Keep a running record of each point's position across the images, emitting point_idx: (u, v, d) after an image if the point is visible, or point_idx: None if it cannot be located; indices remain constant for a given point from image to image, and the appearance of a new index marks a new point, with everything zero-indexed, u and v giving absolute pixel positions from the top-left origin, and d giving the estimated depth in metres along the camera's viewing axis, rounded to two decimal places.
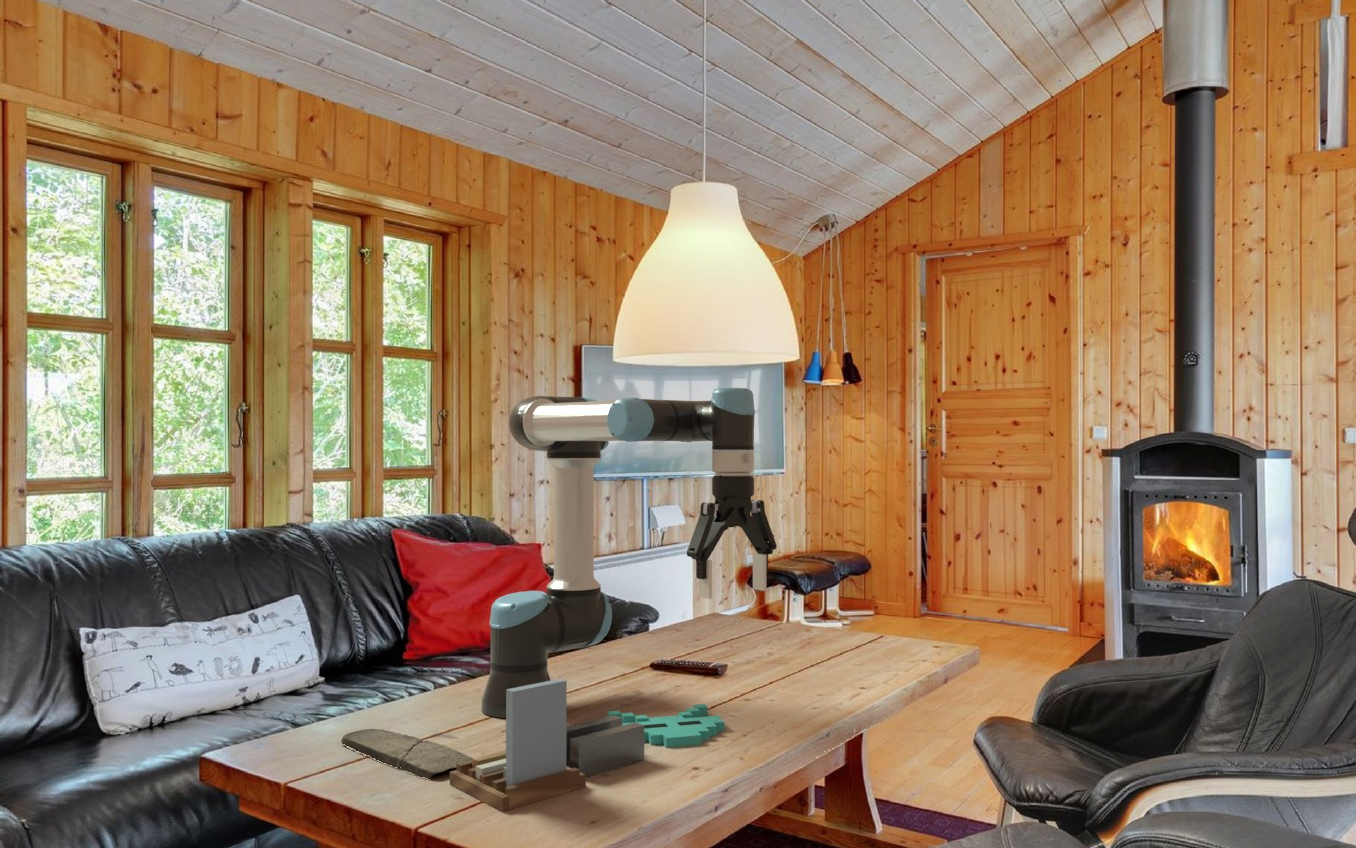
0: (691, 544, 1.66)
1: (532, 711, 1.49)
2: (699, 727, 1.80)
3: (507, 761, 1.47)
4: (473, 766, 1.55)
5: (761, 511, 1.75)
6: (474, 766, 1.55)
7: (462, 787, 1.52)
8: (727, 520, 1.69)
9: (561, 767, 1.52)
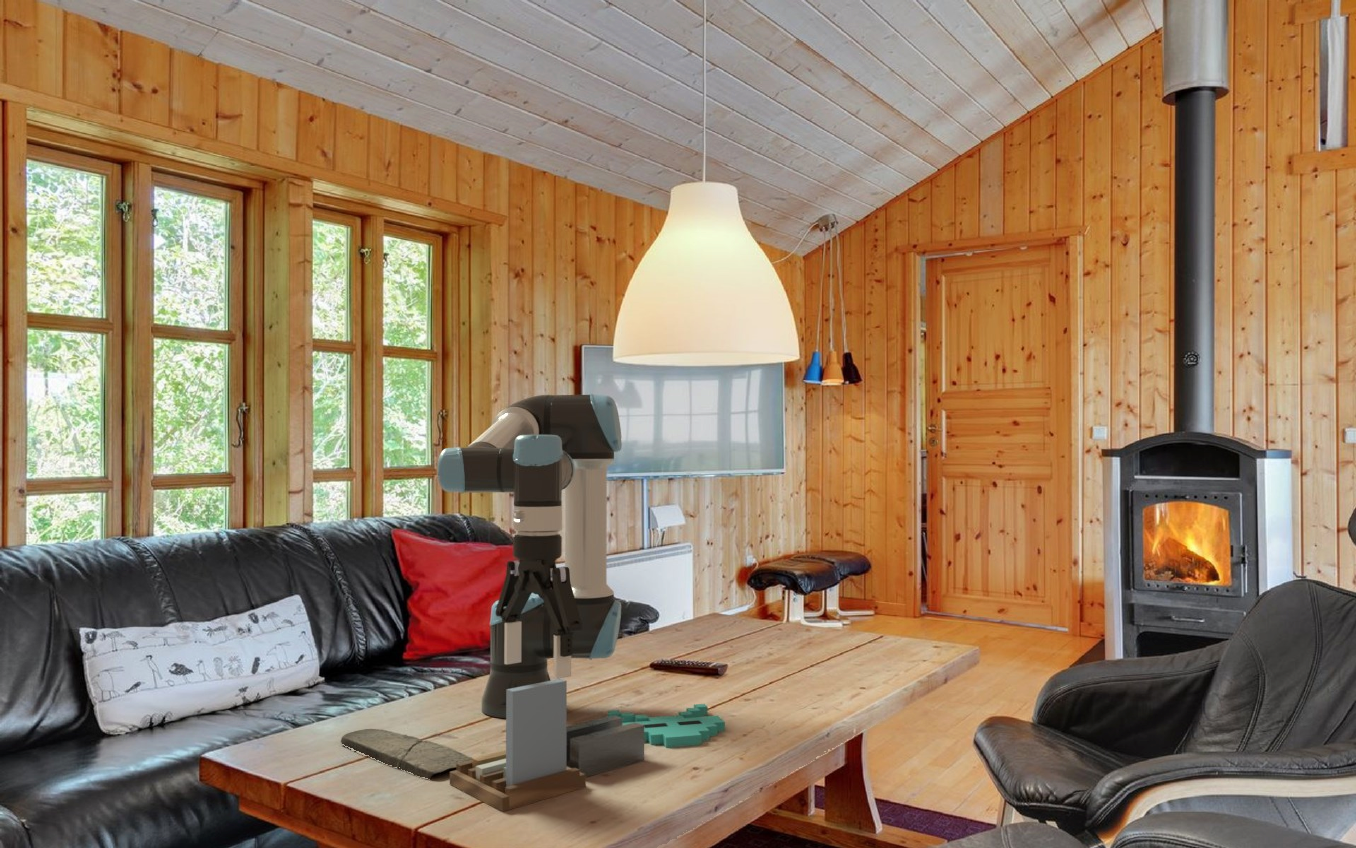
0: None
1: (532, 711, 1.49)
2: (699, 727, 1.80)
3: (507, 761, 1.47)
4: (473, 766, 1.55)
5: (553, 581, 1.45)
6: (474, 766, 1.55)
7: (462, 787, 1.52)
8: (517, 583, 1.52)
9: (561, 767, 1.52)
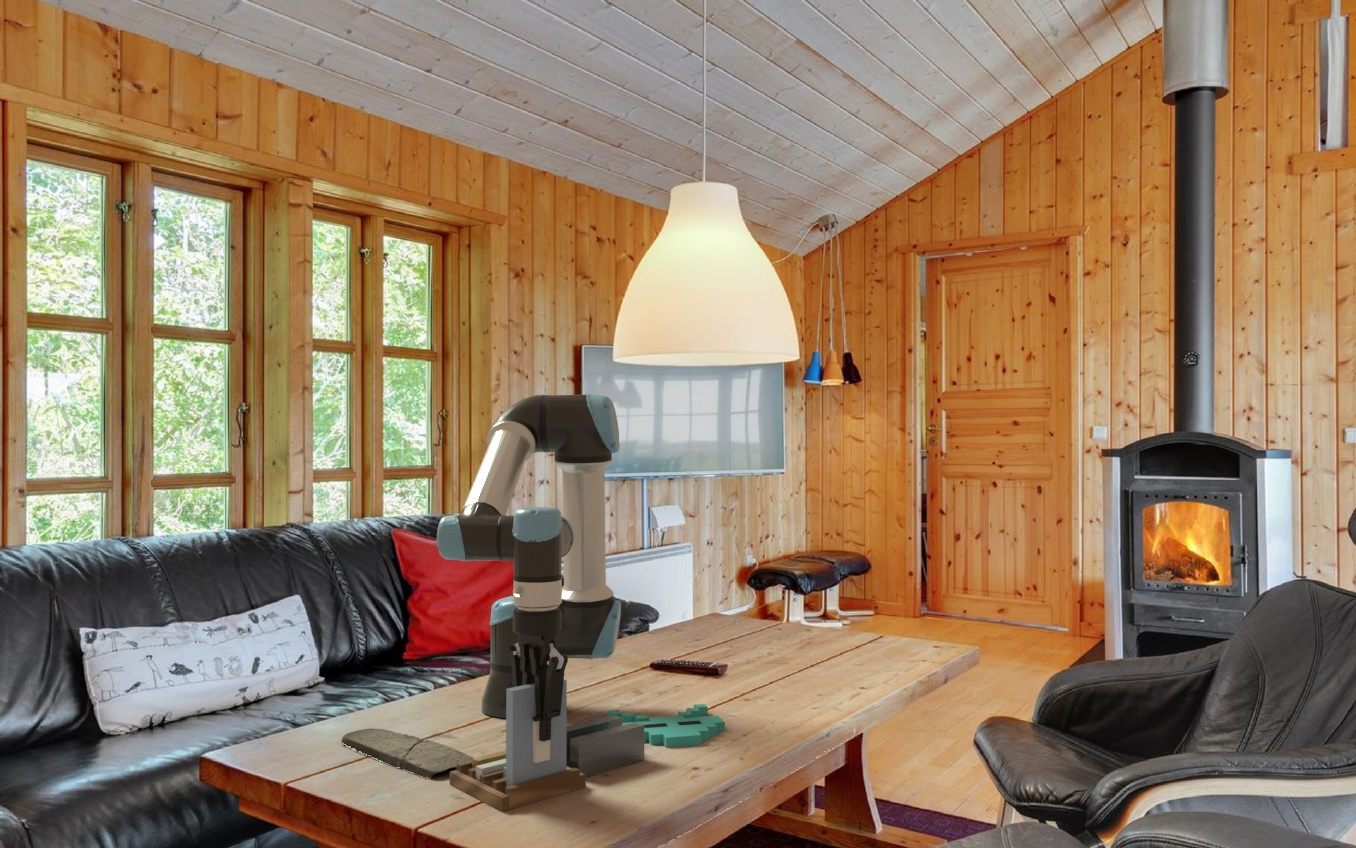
0: None
1: (532, 710, 1.49)
2: (699, 727, 1.80)
3: (507, 760, 1.47)
4: (473, 766, 1.56)
5: (549, 667, 1.46)
6: (474, 766, 1.55)
7: (462, 787, 1.52)
8: (521, 662, 1.51)
9: (561, 766, 1.52)
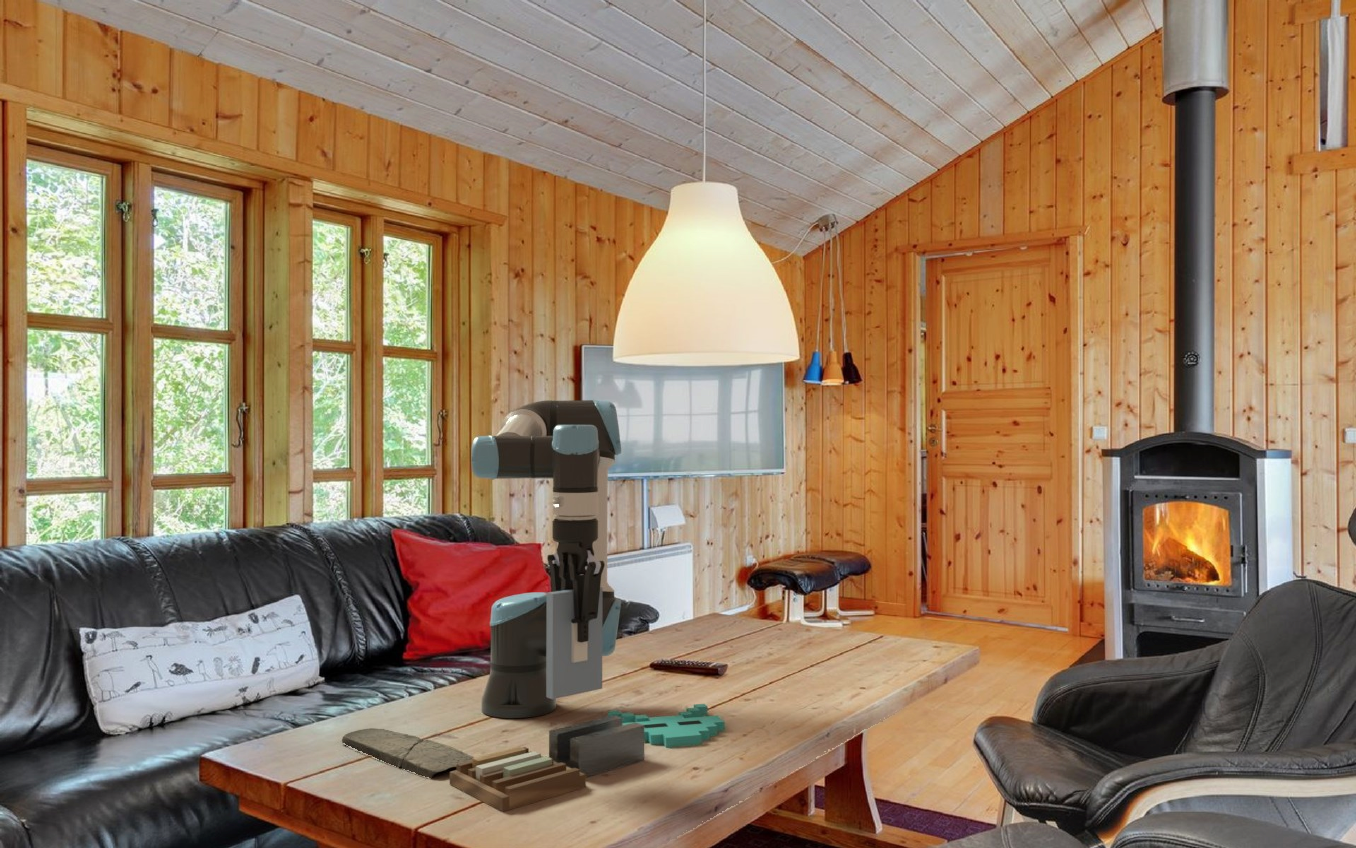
0: None
1: (571, 613, 1.58)
2: (699, 727, 1.80)
3: (547, 659, 1.57)
4: (473, 766, 1.55)
5: (586, 571, 1.56)
6: (474, 766, 1.55)
7: (462, 787, 1.52)
8: (560, 569, 1.60)
9: (597, 667, 1.62)
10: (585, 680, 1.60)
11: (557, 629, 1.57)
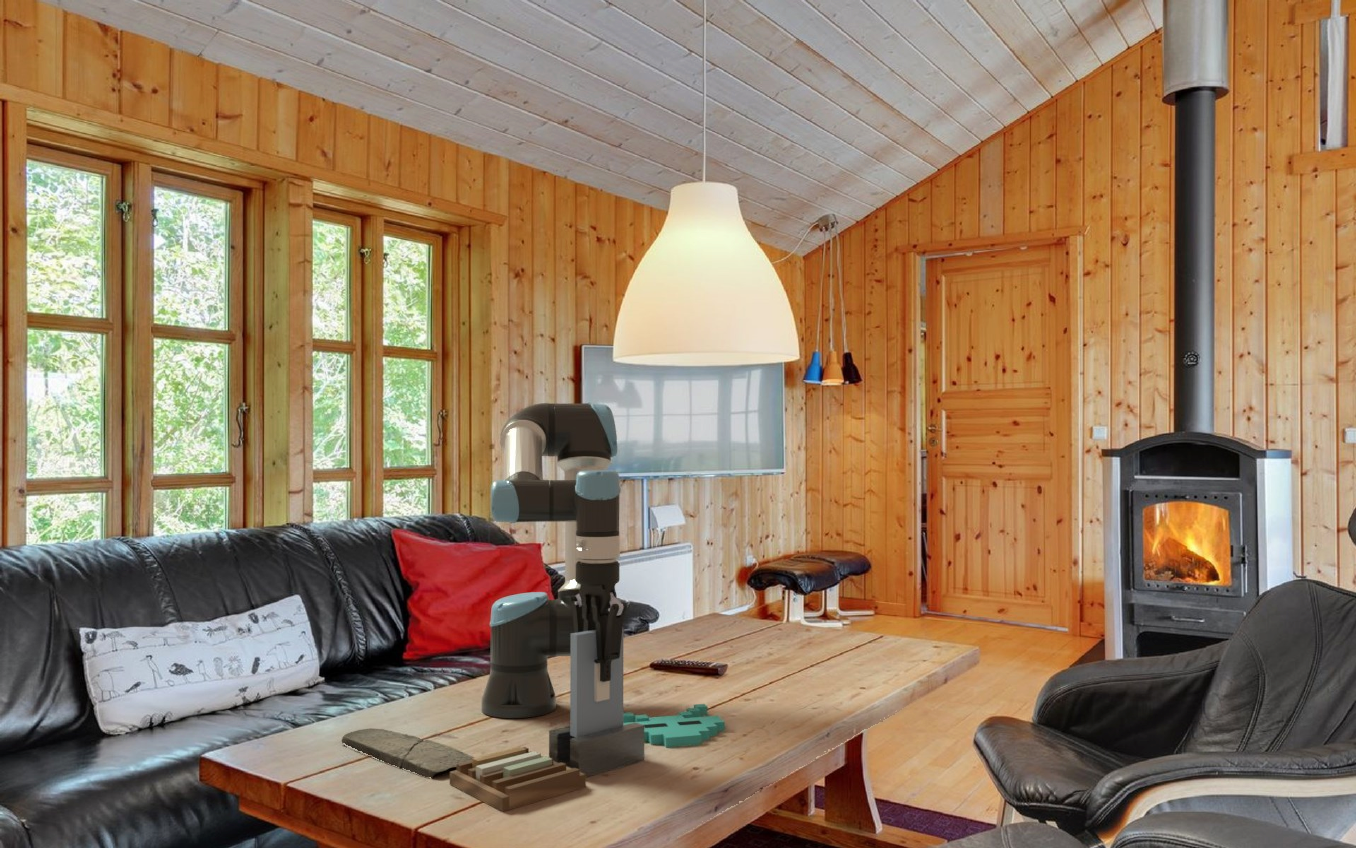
0: None
1: (593, 654, 1.64)
2: (699, 727, 1.80)
3: (571, 698, 1.62)
4: (473, 766, 1.55)
5: (610, 613, 1.61)
6: (474, 766, 1.55)
7: (462, 787, 1.52)
8: (582, 611, 1.66)
9: (618, 706, 1.67)
10: (607, 718, 1.65)
11: (581, 669, 1.62)
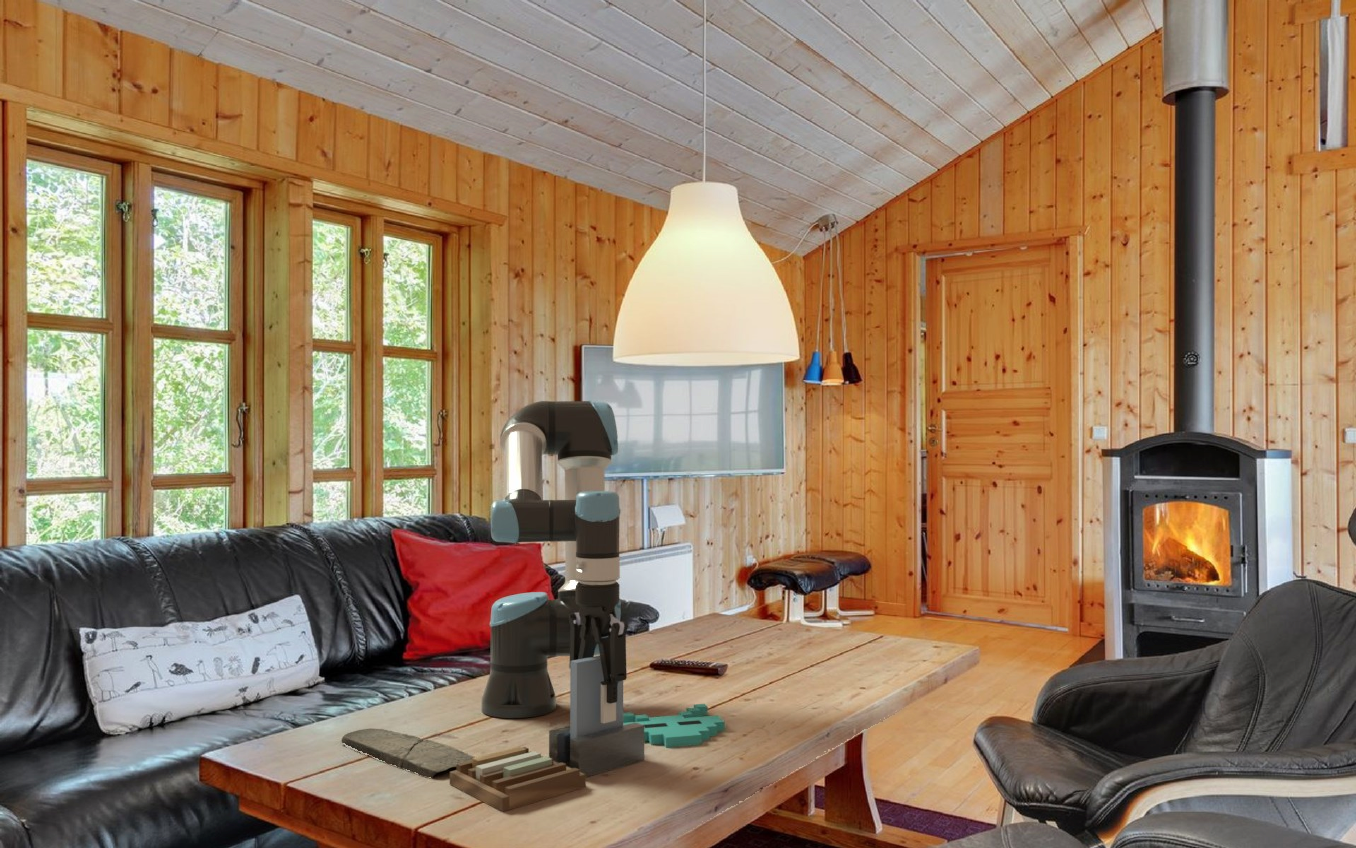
0: (578, 656, 1.70)
1: (593, 681, 1.64)
2: (699, 727, 1.80)
3: (571, 726, 1.62)
4: (473, 766, 1.55)
5: (611, 633, 1.61)
6: (474, 766, 1.55)
7: (462, 787, 1.52)
8: (581, 630, 1.66)
9: None
10: None
11: (581, 697, 1.62)
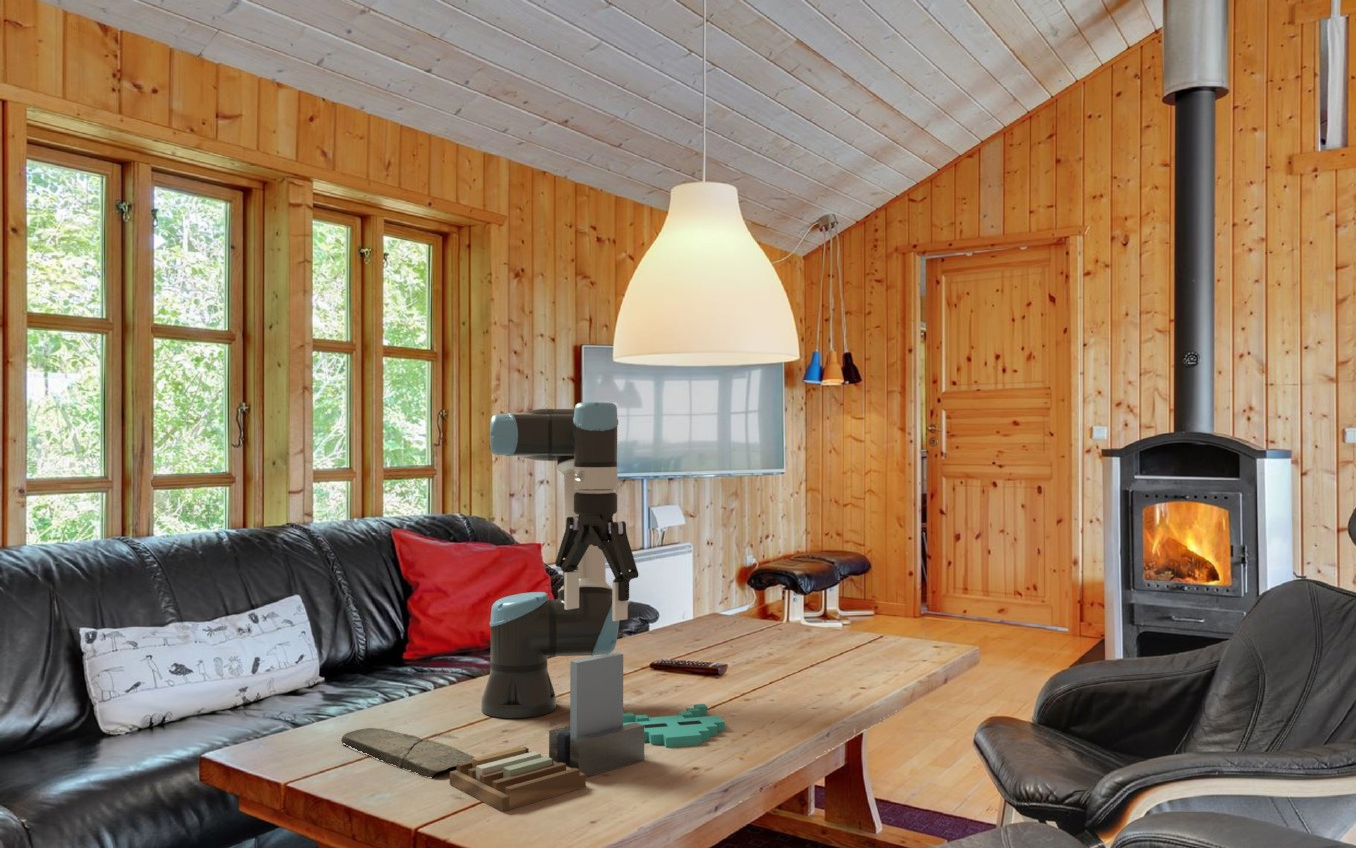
0: None
1: (593, 681, 1.64)
2: (699, 727, 1.80)
3: (571, 726, 1.62)
4: (473, 766, 1.56)
5: (612, 534, 1.62)
6: (474, 766, 1.55)
7: (462, 787, 1.52)
8: (576, 536, 1.68)
9: None
10: None
11: (581, 697, 1.62)
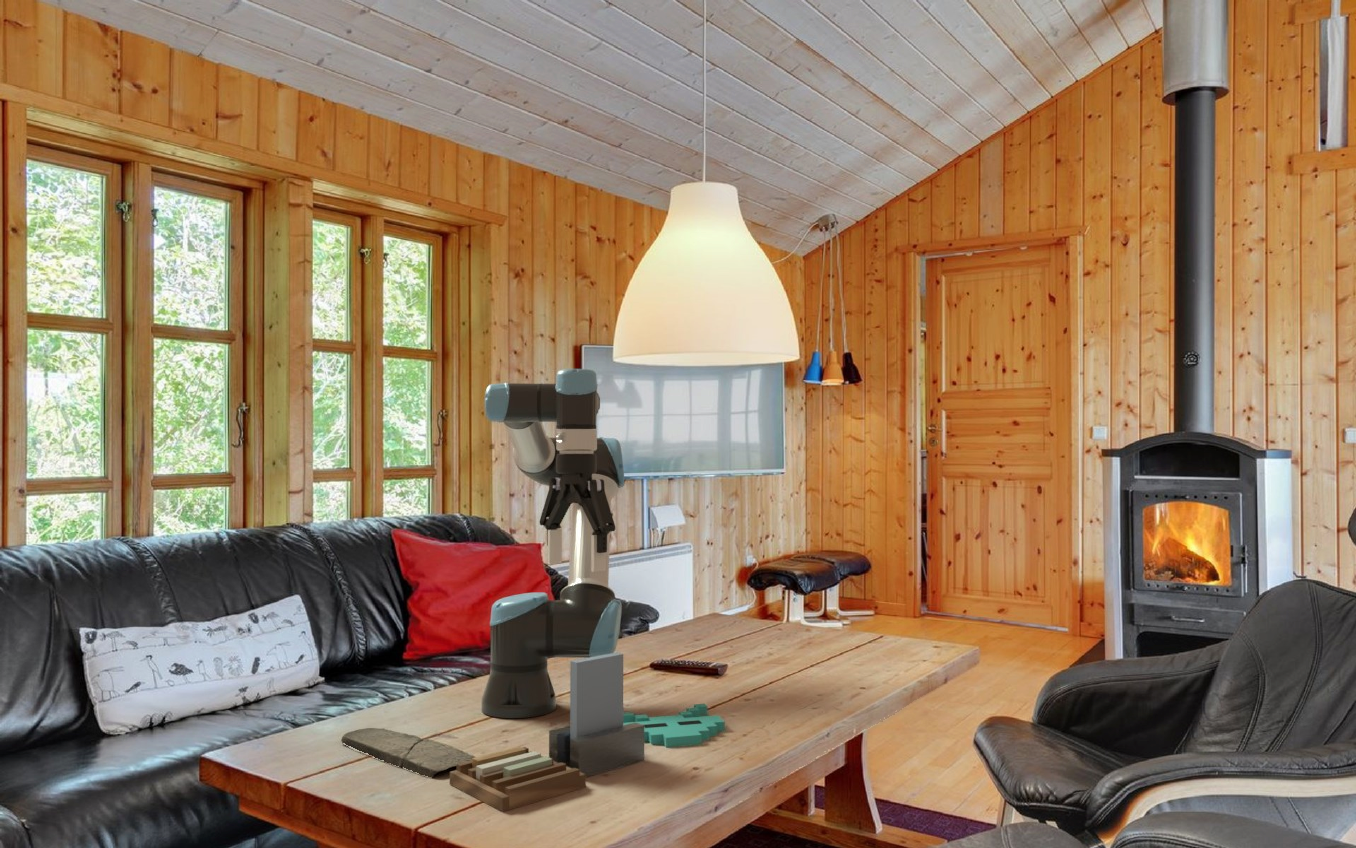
0: None
1: (593, 681, 1.64)
2: (699, 727, 1.80)
3: (571, 726, 1.62)
4: (473, 766, 1.56)
5: (591, 490, 1.74)
6: (474, 766, 1.55)
7: (462, 787, 1.52)
8: (559, 495, 1.80)
9: None
10: None
11: (581, 697, 1.62)
